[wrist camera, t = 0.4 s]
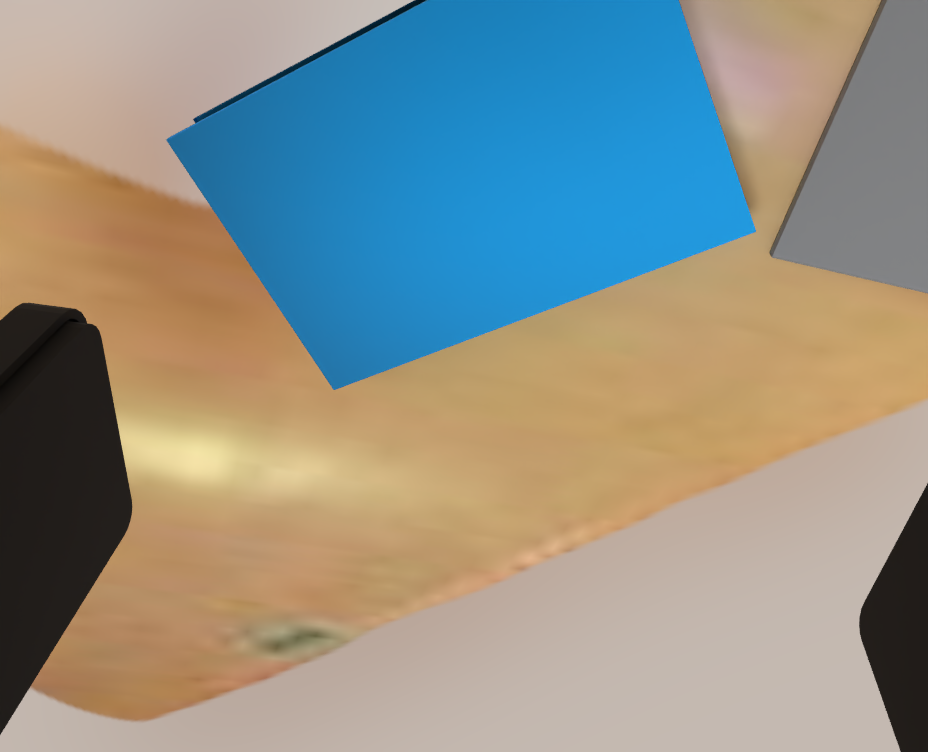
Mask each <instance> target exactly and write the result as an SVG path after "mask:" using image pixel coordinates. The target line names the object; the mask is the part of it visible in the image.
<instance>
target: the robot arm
mask: <svg viewBox="0 0 928 752" xmlns="http://www.w3.org/2000/svg"><path fill="white" fill-rule="evenodd" d="M131 515H132V499H131V494H130V488H129V483H128V478H127V472H126V467H125V462H124V456H123V451H122V446H121V440H120V435H119V429H118V424H117V419H116V413H115V408H114V403H113V397H112V392H111V387H110V381H109V376H108V371H107V365H106V360H105V355H104V349H103V344H102V338H101V335H100V332H99V330H98V328H97V327H96V326H94V325H93V324H87V322H86V318H85V317H84V316H83V314H82V313H81V312H80V311H78V310H76V309H72V308H64V307H56V306H49V305H41V304H34V303H22V304H20V305H18V306H17V307H15V308H14V309H13V310H12V311H11V312H9V313H8V314H7V315H6V316H5V317H4V318H3V319H2V320H0V734H1V733H2V731H3V729H4V728H5V726H6V725H7V723H8V721H9V720H10V718H11V717H12V715H13V713H14V712H15V710H16V708H17V707H18V705H19V704H20V702H21V701H22V699H23V697H24V696H25V694H26V692H27V691H28V689H29V688H30V686H31V684H32V683H33V681H34V680H35V678H36V676H37V675H38V673H39V672H40V670H41V668H42V667H43V665H44V664H45V662H46V660H47V659H48V657H49V655H50V654H51V652H52V651H53V649H54V647H55V646H56V644H57V643H58V641H59V639H60V638H61V636H62V635H63V633H64V631H65V630H66V628H67V627H68V625H69V623H70V622H71V620H72V619H73V617H74V615H75V614H76V612H77V610H78V609H79V607H80V606H81V604H82V602H83V601H84V599H85V598H86V596H87V594H88V593H89V591H90V590H91V588H92V586H93V585H94V583H95V582H96V580H97V578H98V577H99V575H100V573H101V572H102V570H103V569H104V567H105V565H106V564H107V562H108V561H109V559H110V557H111V556H112V554H113V553H114V551H115V549H116V548H117V546H118V545H119V543H120V541H121V540H122V538H123V537H124V535H125V533H126V531H127V529H128V526H129V523H130V519H131ZM859 627H860V635H861V639H862V642H863V645H864V648H865V651H866V654H867V656H868V660H869V662H870V665H871V668H872V671H873V674H874V677H875V680H876V682H877V685H878V688H879V691H880V694H881V696H882V699H883V702H884V705H885V708H886V711H887V714H888V717H889V719H890V722H891V725H892V728H893V731H894V734H895V737H896V739H897V741H898V745H899V748H900V751H901V752H928V484H927V486H926V488H925V490H924V491H923V493H922V495H921V497H920V499H919V501H918V503H917V504H916V506H915V508H914V510H913V512H912V514H911V516H910V518H909V520H908V521H907V523H906V525H905V527H904V529H903V531H902V533H901V534H900V536H899V538H898V540H897V542H896V544H895V546H894V548H893V550H892V551H891V553H890V555H889V557H888V559H887V561H886V563H885V565H884V566H883V568H882V570H881V572H880V574H879V576H878V578H877V580H876V581H875V583H874V585H873V587H872V589H871V591H870V593H869V594H868V596H867V598H866V600H865V602H864V604H863V606H862V609H861V614H860V622H859Z"/></svg>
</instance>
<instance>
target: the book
mask: <svg viewBox="0 0 928 752" xmlns="http://www.w3.org/2000/svg"><path fill="white" fill-rule="evenodd" d="M193 120H194V122H195V124H193V125H192V126H190V127H188V128H186V129H184V130H182V131H180V132H178V133H177V134H175V135H173V136H171V137H169V138H168V139H167V142H168V143H169V145H170V146H171V148H172V149H173V151H174V152H175V154H176V155H177V157H178V158H179V160H180V161H181V163H182V164H183V165H184V167H185V169H186V170H187V172H188V173H189V175H190V176H191V178H192V179H193V180H194V182H195V183H196V185H197V187H198V188H199V190H200V191H201V193H202V194H203V195H204V197H205V198H206V200H207V201H208V203H209V204H210V206H211V207H212V209H213V210H214V212H215V213H216V215H217V216H218V218H219V219H220V221H221V222H222V224H223V225H224V227H225V228H226V230H227V231H228V233H229V234H230V236H231V237H232V239H233V240H234V242H235V243H236V245H237V246H238V248H239V249H240V251H241V252H242V254H243V255H244V257H245V258H246V260H247V261H248V263H249V264H250V266H251V267H252V269H253V270H254V272H255V273H256V275H257V276H258V278H259V279H260V281H261V282H262V284H263V285H264V287H265V288H266V289H267V291H268V292H269V294H270V295H271V297H272V298H273V300H274V301H275V303H276V304H277V306H278V307H279V309H280V310H281V312H282V313H283V315H284V316H285V318H286V319H287V321H288V322H289V324H290V325H291V327H292V328H293V330H294V331H295V333H296V334H297V336H298V337H299V339H300V340H301V342H302V343H303V345H304V346H305V348H306V349H307V351H308V352H309V354H310V355H311V357H312V358H313V360H314V361H315V363H316V364H317V366H318V367H319V369H320V370H321V372H322V373H323V375H324V376H325V378H326V379H327V380H328V382H329V383H330V385H331V386H332V388H333V389H334V390H336V389H338V388H341V387H344V386H346V385H349V384H352V383H354V382H357V381H360V380H362V379H365V378H368V377H370V376H373V375H376V374H378V373H381V372H384V371H386V370H389V369H391V368H394V367H397V366H399V365H402V364H405V363H407V362H410V361H413V360H415V359H418V358H421V357H423V356H426V355H429V354H431V353H434V352H437V351H439V350H442V349H445V348H447V347H450V346H453V345H455V344H458V343H461V342H463V341H466V340H469V339H471V338H474V337H477V336H479V335H482V334H485V333H487V332H490V331H493V330H495V329H498V328H501V327H503V326H506V325H509V324H511V323H514V322H517V321H519V320H522V319H525V318H527V317H530V316H533V315H535V314H538V313H541V312H543V311H546V310H549V309H551V308H554V307H557V306H559V305H562V304H565V303H567V302H570V301H573V300H575V299H578V298H581V297H583V296H586V295H589V294H591V293H594V292H597V291H599V290H602V289H605V288H607V287H610V286H613V285H615V284H618V283H621V282H623V281H626V280H629V279H631V278H634V277H637V276H639V275H642V274H645V273H647V272H650V271H653V270H655V269H658V268H661V267H663V266H666V265H669V264H671V263H674V262H677V261H679V260H682V259H684V258H687V257H690V256H692V255H695V254H698V253H700V252H703V251H706V250H708V249H711V248H714V247H716V246H719V245H722V244H724V243H727V242H730V241H732V240H735V239H738V238H740V237H743V236H746V235H748V234H751V233H754V232H756V230H755V227H754V224H753V221H752V218H751V215H750V212H749V209H748V206H747V203H746V200H745V197H744V194H743V191H742V188H741V185H740V182H739V179H738V176H737V173H736V170H735V167H734V164H733V161H732V158H731V155H730V152H729V149H728V146H727V143H726V140H725V137H724V134H723V131H722V128H721V125H720V122H719V119H718V116H717V113H716V110H715V107H714V104H713V101H712V98H711V95H710V92H709V89H708V87H707V84H706V81H705V78H704V75H703V72H702V69H701V66H700V63H699V60H698V57H697V54H696V51H695V48H694V45H693V42H692V39H691V36H690V33H689V30H688V27H687V24H686V21H685V18H684V15H683V12H682V9H681V6H680V3H679V0H414V1H412V2H410V3H408V4H407V5H404V6H403V7H401V8H399V9H397V10H395V11H393V12H392V13H390V14H388V15H386V16H384V17H382V18H380V19H378V20H377V21H375V22H373V23H371V24H369V25H367V26H365V27H363V28H362V29H360V30H358V31H356V32H354V33H352V34H350V35H348V36H347V37H345V38H343V39H341V40H339V41H337V42H335V43H333V44H332V45H330V46H328V47H326V48H324V49H322V50H320V51H319V52H317V53H315V54H313V55H311V56H309V57H307V58H306V59H304V60H302V61H300V62H298V63H296V64H294V65H292V66H290V67H289V68H287V69H285V70H283V71H282V72H280V73H277V74H276V75H274V76H272V77H270V78H268V79H266V80H264V81H262V82H261V83H259V84H257V85H255V86H253V87H251V88H249V89H248V90H246V91H244V92H242V93H241V94H238V95H236V96H234V97H233V98H231V99H229V100H227V101H225V102H224V103H221V104H219V105H218V106H216V107H214V108H212V109H210V110H208V111H207V112H205V113H203V114H201V115H199V116H197V117H195V118H194V119H193Z"/></svg>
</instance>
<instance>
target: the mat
mask: <svg viewBox="0 0 928 752" xmlns="http://www.w3.org/2000/svg"><path fill="white" fill-rule="evenodd" d="M770 255H771V257H772V258H777V259H781V260H785V261H790V262H794V263H798V264H803V265H807V266H811V267H816V268H820V269H824V270H829V271H833V272H837V273H842V274H846V275H850V276H855V277H859V278H863V279H868V280H872V281H877V282H881V283H885V284H890V285H894V286H898V287H903V288H907V289H911V290H916V291H920V292H924V293H928V0H882V1H881V4H880V6H879V8H878V10H877V13H876V15H875V17H874V19H873V22H872V24H871V26H870V28H869V31H868V33H867V35H866V37H865V40H864V42H863V44H862V46H861V49H860V51H859V53H858V55H857V58H856V60H855V62H854V64H853V66H852V69H851V71H850V73H849V75H848V78H847V80H846V82H845V84H844V87H843V89H842V91H841V93H840V96H839V98H838V100H837V102H836V105H835V107H834V109H833V111H832V114H831V116H830V118H829V120H828V123H827V125H826V127H825V129H824V132H823V134H822V136H821V138H820V141H819V143H818V145H817V147H816V150H815V152H814V154H813V156H812V159H811V161H810V163H809V165H808V168H807V170H806V172H805V174H804V176H803V179H802V181H801V183H800V185H799V188H798V190H797V192H796V194H795V197H794V199H793V201H792V203H791V206H790V208H789V210H788V212H787V215H786V217H785V219H784V221H783V224H782V226H781V228H780V230H779V233H778V235H777V237H776V239H775V242H774V244H773V246H772V248H771V251H770Z"/></svg>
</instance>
